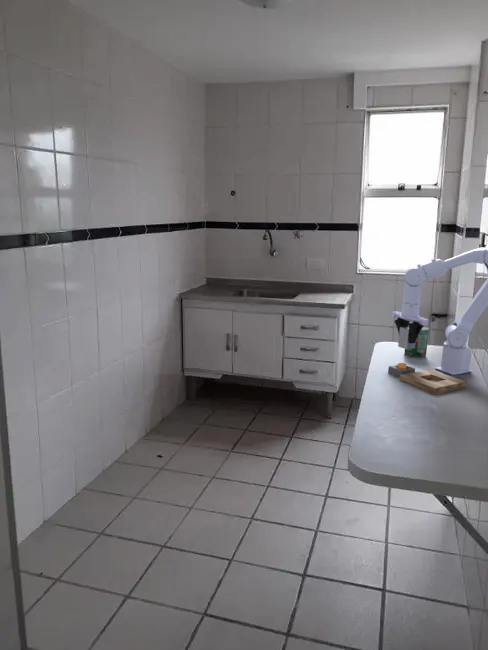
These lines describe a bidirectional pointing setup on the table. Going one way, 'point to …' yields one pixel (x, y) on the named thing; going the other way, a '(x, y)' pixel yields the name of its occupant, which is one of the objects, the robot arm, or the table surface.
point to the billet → (405, 338)
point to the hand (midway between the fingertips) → (407, 341)
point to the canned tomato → (419, 345)
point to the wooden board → (432, 381)
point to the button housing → (400, 370)
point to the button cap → (402, 365)
